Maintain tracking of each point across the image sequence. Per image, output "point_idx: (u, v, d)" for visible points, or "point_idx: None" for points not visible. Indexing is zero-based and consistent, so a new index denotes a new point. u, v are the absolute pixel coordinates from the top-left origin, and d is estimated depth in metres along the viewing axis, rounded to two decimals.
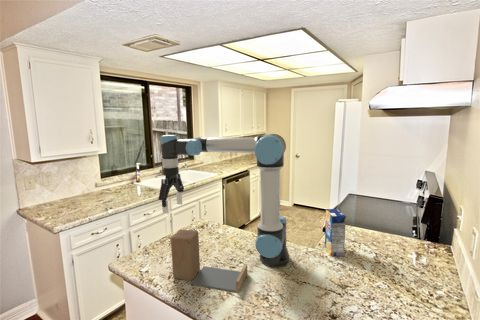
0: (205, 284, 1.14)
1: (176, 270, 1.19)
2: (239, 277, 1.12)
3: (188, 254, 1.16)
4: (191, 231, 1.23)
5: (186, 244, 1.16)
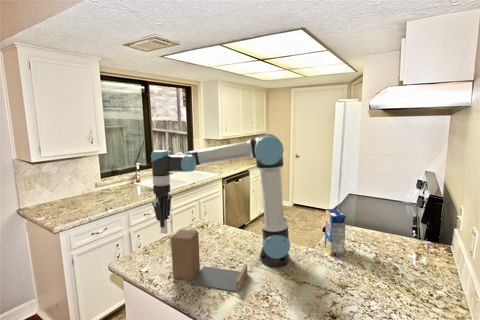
0: (205, 284, 1.14)
1: (176, 270, 1.19)
2: (239, 277, 1.12)
3: (188, 254, 1.16)
4: (191, 231, 1.23)
5: (186, 244, 1.16)
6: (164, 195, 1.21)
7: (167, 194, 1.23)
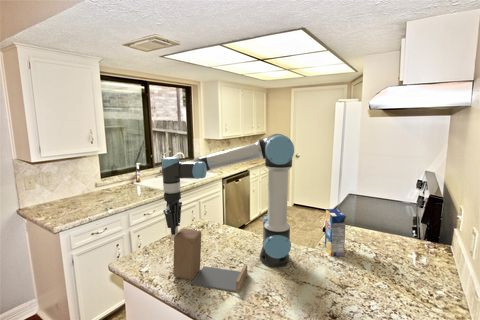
0: (205, 284, 1.14)
1: (177, 269, 1.19)
2: (239, 277, 1.12)
3: (190, 254, 1.16)
4: (194, 231, 1.23)
5: (189, 244, 1.15)
6: (175, 202, 1.20)
7: (178, 201, 1.22)
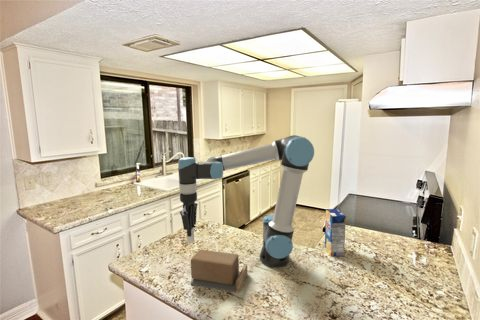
0: (205, 284, 1.14)
1: (199, 265, 1.16)
2: (239, 277, 1.12)
3: (217, 281, 1.14)
4: (238, 270, 1.20)
5: (226, 280, 1.13)
6: (191, 203, 1.18)
7: (193, 202, 1.20)
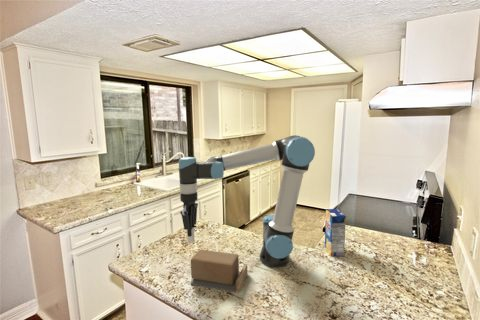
0: (205, 284, 1.14)
1: (199, 265, 1.16)
2: (239, 277, 1.12)
3: (217, 281, 1.14)
4: (238, 270, 1.20)
5: (226, 280, 1.13)
6: (191, 203, 1.18)
7: (194, 202, 1.20)
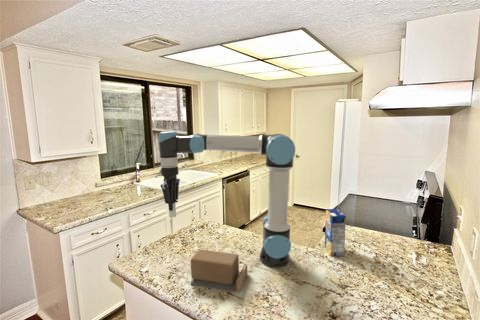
0: (205, 284, 1.14)
1: (199, 265, 1.16)
2: (239, 277, 1.12)
3: (217, 281, 1.14)
4: (238, 270, 1.20)
5: (226, 280, 1.13)
6: (172, 178, 1.18)
7: (175, 177, 1.21)
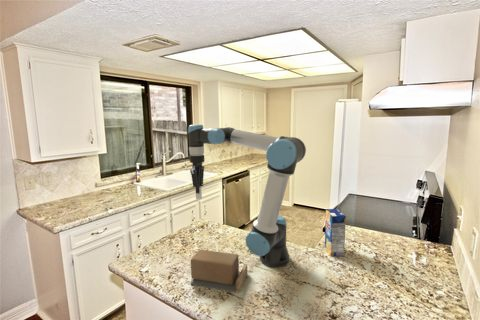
0: (205, 284, 1.14)
1: (199, 265, 1.16)
2: (239, 277, 1.12)
3: (217, 281, 1.14)
4: (238, 270, 1.20)
5: (226, 280, 1.13)
6: (199, 164, 1.36)
7: (201, 164, 1.39)
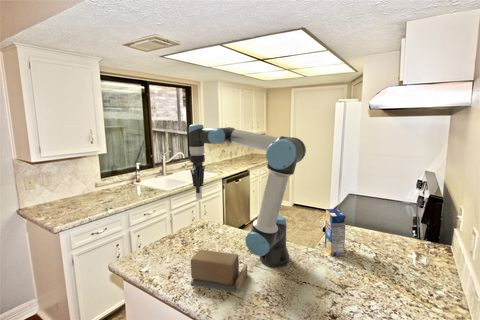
0: (205, 284, 1.14)
1: (199, 265, 1.16)
2: (239, 277, 1.12)
3: (217, 281, 1.14)
4: (238, 270, 1.20)
5: (226, 280, 1.13)
6: (199, 164, 1.37)
7: (201, 164, 1.39)
